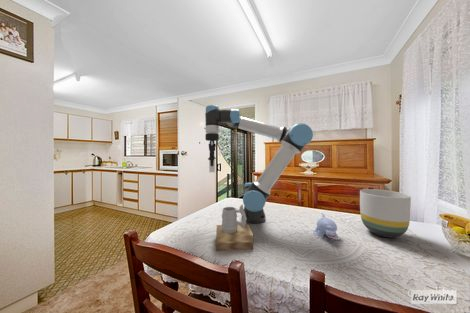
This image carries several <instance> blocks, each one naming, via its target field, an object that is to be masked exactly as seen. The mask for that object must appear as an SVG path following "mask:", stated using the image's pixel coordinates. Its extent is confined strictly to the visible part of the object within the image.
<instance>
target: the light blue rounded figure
mask: <svg viewBox="0 0 470 313" xmlns="http://www.w3.org/2000/svg"><path fill="white" fill-rule="evenodd" d="M321 215H322V217H321V218H319V219H318V220H317V221H316V226H315V229H314V230H313V233H314V236H315V237H316V238H317V239H318V238H319V239H324V235H325V234H326V236H327V237H328V238H330V239H332V240H336V241H340V240H341V239H340V236H338V234H337V231H338V225H337V223H336V222H335V221H334V220H332V219H331V218H329V217H326V216H325V214H324V213H323V212H321Z"/></svg>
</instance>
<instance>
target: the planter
mask: <svg viewBox="0 0 470 313" xmlns="http://www.w3.org/2000/svg"><path fill="white" fill-rule="evenodd" d="M411 200H412V196H411V195H409V194H407V193H404V192H399V191H393V190H385V189H372V188H366V189H364V188H363V189H360V190H359V210H360V211H359V213H360V219H361V222H362V224H363V225H364V227H366V229H367V230H369V231H370V232H372V233H373V234H374V235H378V236H379V237H383V238H391V239H392V238H398V237H400V236H403V235H404V234H405V233H407V231H408V229H409V226H410V221H411V206H412V204H411V203H412V202H411Z"/></svg>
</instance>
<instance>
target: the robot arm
mask: <svg viewBox="0 0 470 313" xmlns="http://www.w3.org/2000/svg"><path fill="white" fill-rule="evenodd" d="M240 112H241V111H240V109H237V108H231V109H229V108H227V109H226V108H225V109H220V107H219V105H214V104H209V105H206V106H205V113H204V115H205V117H204V118H205V127H204V130H205V136H204V137H205V141H208V142H209V143H208V151H209V157H208V158H207V160H208V161H209V166H208V168H209V170H208V171H209V172H208V173H215V170H216V169H215V168H216V167H215V165H216V162H215V161H216V159H217V158H216V157H215V151H216V147H217V146H216V145H217V144H216V143H215V142H218V141H219V140H220V134H219V133H220V124H227V126H228V127H230V128H236V129H240V130H243V131H246V132H250V133H252V134H256V135H260V136H263V137H268V138H270V139H274V140H277V142H279V143H281V145H280V147H279V149H278V150H277V151H276V153H275V155H274V156H273V157H272V159H271V160H270V161H269V163H268V164H267V165H266V167H265V168H264V170H263V171H262V173H261V174H260V175H259V177H258V179H256V180H253V181H252V182H245V183H244V186H243V190H244V192H243V197H242V202H243V203H242V204H243V209H244V212H245V215H246V218H247V219H246V223H247V224H261V223H264V222H265V221H266V213H265V211H264V208H265V205H266V201H267V200H268V199H269V197H270V195H271V189H272V188H273V187H274V185H275V183H276V182H277V181H278V179H279V178H280V177H281V175H282V174H283V172H284V171H285V169H286V168H287V167H288V165H289V164H290V162H291V161H292V160H293V158H294V157H295V155H297V154H301V152H302V151H303V149H304V148H305V146H307V145H308V144H310V143H311V141H312V140H313V137H314V133H313V130H312V128H311V127H310V126H309V125H308V124H306V123H302V122H301V123H296V124H295V123H294V124H293V125H292V126H291V127H288V126H287V127H286V126H281V127H280V126H277V125H272V124H269V123H266V122H262V121H259V120H254V119H251V118H247V117H245V116H241V113H240ZM242 220H243V217H242V216H241V221H242Z"/></svg>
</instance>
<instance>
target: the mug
mask: <svg viewBox="0 0 470 313" xmlns="http://www.w3.org/2000/svg"><path fill="white" fill-rule="evenodd" d="M237 213H239V214H240V215H241V218H242V217H243V220H242V219H241V221H239V220H237V218H238V214H237ZM221 219H222V220H221V221H222V222H221V224H220V225H221V228H222V231H223V232H225V233H234V232H236V231H237V228H238V225H239V226H241V227H242V228H244V226H245V225H246V224H247V222H246V219H247V218H246V215H245V212H244V204H241V205H240V206H239V209H237V208H236V207H233V206H225V207H223V208H222V213H221Z"/></svg>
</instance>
